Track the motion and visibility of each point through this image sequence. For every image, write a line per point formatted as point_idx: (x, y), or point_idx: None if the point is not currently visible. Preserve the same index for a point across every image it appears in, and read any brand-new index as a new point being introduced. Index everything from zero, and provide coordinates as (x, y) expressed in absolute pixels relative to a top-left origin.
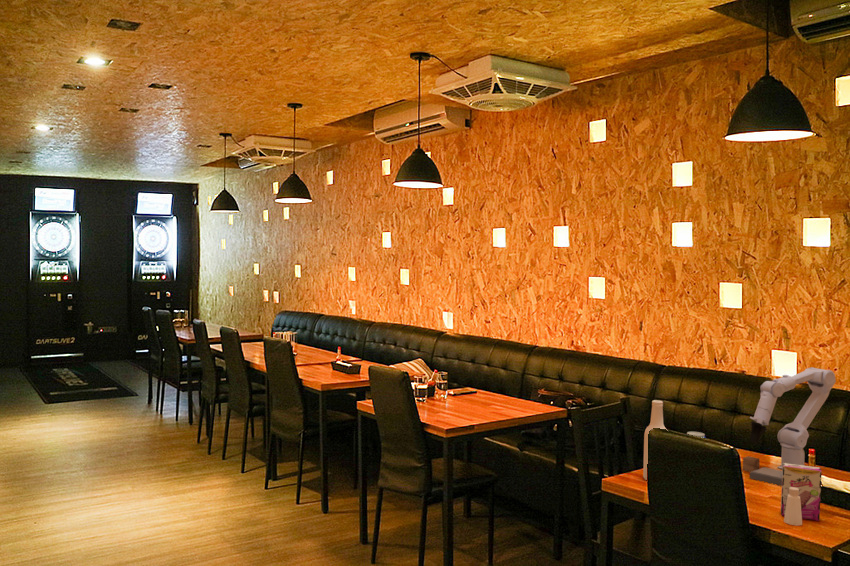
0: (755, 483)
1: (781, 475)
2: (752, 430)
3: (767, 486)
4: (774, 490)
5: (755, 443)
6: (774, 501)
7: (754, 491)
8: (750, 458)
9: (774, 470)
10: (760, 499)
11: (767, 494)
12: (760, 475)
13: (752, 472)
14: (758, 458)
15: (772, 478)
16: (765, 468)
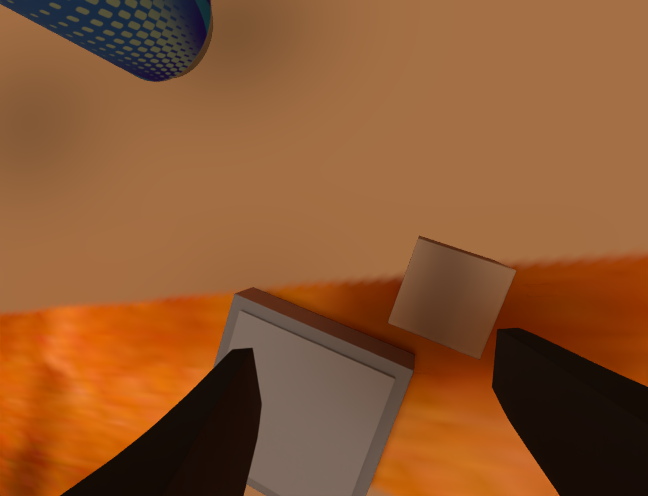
0: (187, 316)
1: None
2: (122, 462)
3: (172, 367)
4: (134, 392)
5: (493, 381)
6: (15, 383)
7: (79, 316)
8: (435, 292)
9: (342, 431)
10: (9, 338)
11: (71, 363)
12: (222, 347)
13: (233, 307)
14: (478, 352)
15: None
16: (360, 381)
